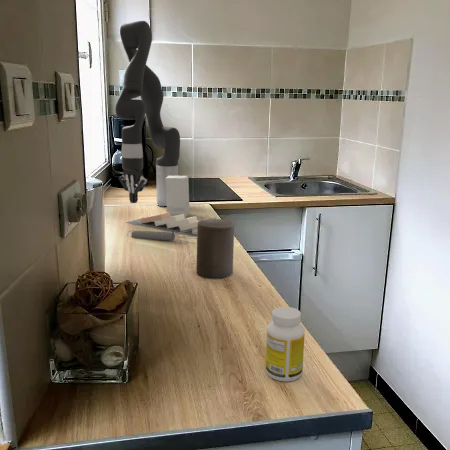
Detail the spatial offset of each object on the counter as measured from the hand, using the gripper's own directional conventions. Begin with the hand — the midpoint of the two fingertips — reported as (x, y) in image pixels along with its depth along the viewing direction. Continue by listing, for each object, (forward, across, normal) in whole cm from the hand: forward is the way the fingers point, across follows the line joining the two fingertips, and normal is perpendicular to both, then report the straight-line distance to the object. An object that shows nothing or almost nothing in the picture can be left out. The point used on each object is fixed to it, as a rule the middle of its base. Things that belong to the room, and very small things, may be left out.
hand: (133, 202), depth 180 cm
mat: (+7, +16, 0) cm, 18 cm away
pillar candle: (+7, +56, -30) cm, 64 cm away
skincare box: (+7, +8, +17) cm, 20 cm away
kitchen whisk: (+7, +30, -15) cm, 34 cm away
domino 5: (+6, +29, -1) cm, 30 cm away
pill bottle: (+7, +92, -65) cm, 113 cm away
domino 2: (+6, +12, 0) cm, 14 cm away
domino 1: (+6, +6, 0) cm, 8 cm away
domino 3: (+6, +18, 0) cm, 19 cm away
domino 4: (+6, +24, -1) cm, 25 cm away
